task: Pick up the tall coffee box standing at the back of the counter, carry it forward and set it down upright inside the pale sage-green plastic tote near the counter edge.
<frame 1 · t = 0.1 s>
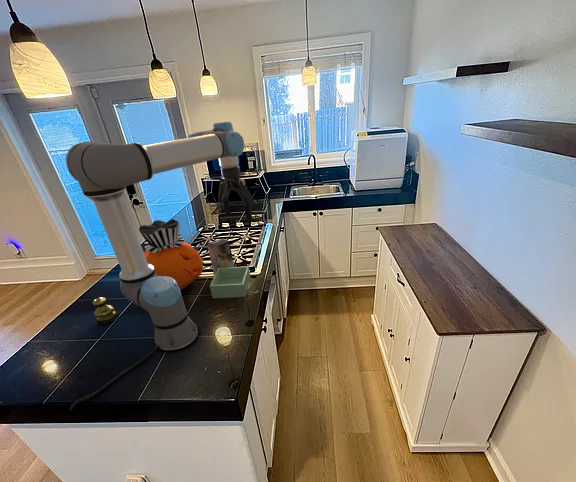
hand: (238, 218, 138), 28 cm above the countertop, tool pointing down, fingers open, 13 cm apart
brass knobbed piece: (108, 319, 130), on the countertop
jack-o'-lantern: (179, 284, 150), on the countertop
coffee box: (224, 272, 157), on the countertop
tote: (232, 287, 143), on the countertop
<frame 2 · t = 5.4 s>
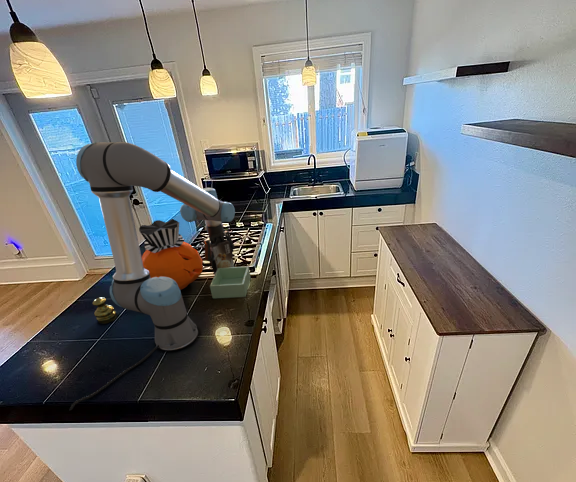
hand: (223, 267, 155), 3 cm above the countertop, tool pointing down, fingers closed on coffee box, 9 cm apart
coffee box: (224, 272, 157), on the countertop, touching gripper
everything else where it was.
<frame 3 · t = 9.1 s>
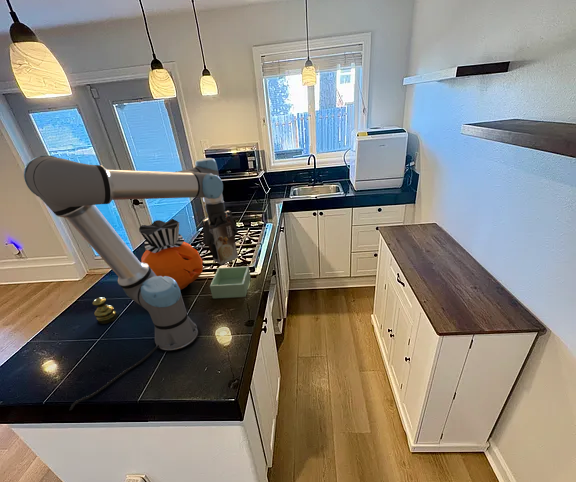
hand: (224, 254, 136), 16 cm above the countertop, tool pointing down, fingers closed on coffee box, 9 cm apart
coffee box: (226, 259, 137), point 14 cm above the countertop, touching gripper
everything else where it was.
when the fingers open (3 cm above the countertop, at t = 12.8 s): coffee box stays where it is, resting on tote.
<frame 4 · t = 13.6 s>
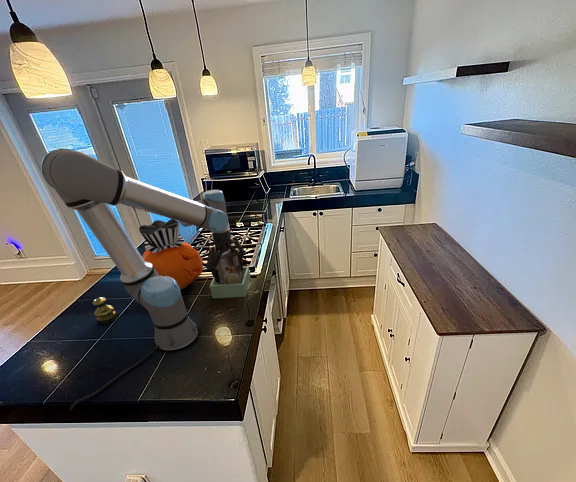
hand: (229, 275, 140), 6 cm above the countertop, tool pointing down, fingers open, 13 cm apart
coffee box: (232, 286, 143), point 1 cm above the countertop, touching tote
everything else where it was.
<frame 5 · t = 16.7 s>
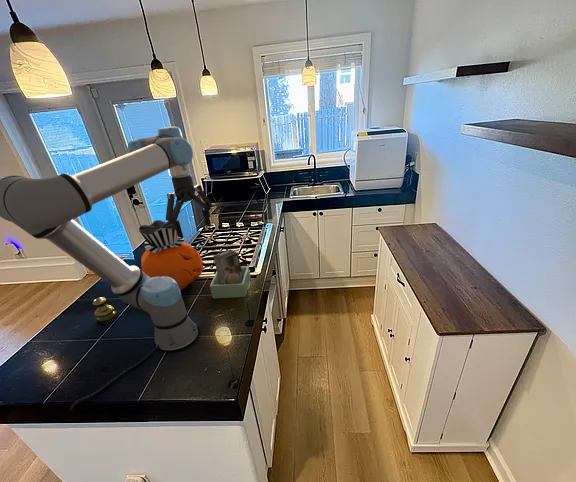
hand: (195, 231, 126), 29 cm above the countertop, tool pointing down, fingers open, 13 cm apart
nothing on the countertop moved.
at the end: coffee box inside the target area in the tote (0.1 cm from its centre), point 0.6 cm above the tote's base; the gripper is holding nothing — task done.
